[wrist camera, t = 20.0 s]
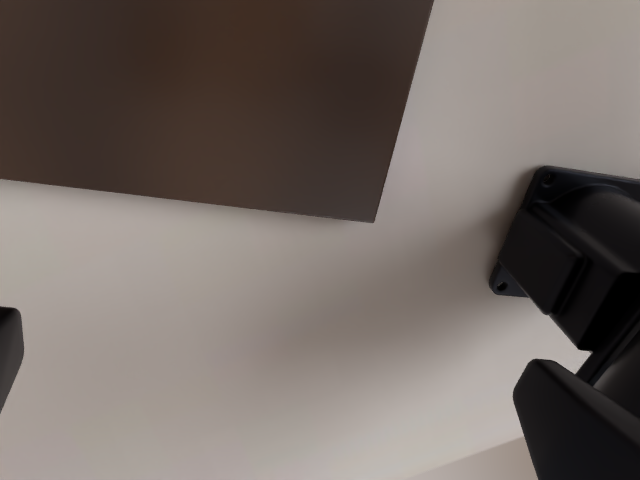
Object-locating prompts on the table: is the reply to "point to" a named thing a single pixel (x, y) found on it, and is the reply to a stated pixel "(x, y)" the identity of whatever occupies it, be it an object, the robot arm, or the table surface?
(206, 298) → the table surface
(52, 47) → the board
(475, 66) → the table surface
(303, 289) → the table surface
